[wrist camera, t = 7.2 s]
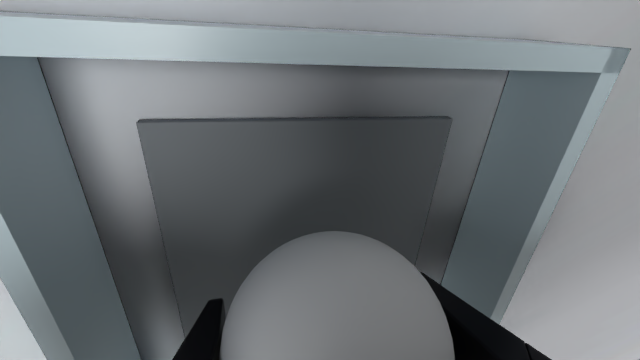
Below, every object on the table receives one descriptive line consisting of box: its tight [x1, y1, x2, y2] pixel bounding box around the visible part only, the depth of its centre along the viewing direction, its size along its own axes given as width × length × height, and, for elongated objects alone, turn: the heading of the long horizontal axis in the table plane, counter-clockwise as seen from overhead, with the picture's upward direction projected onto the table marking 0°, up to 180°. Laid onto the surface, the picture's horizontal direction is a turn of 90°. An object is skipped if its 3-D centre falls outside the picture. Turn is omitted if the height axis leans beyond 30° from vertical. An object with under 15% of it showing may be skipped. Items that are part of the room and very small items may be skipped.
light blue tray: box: [0, 11, 631, 360], centre depth 11 cm, size 15×15×3 cm
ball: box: [219, 231, 455, 360], centre depth 8 cm, size 6×6×6 cm
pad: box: [136, 117, 452, 338], centre depth 12 cm, size 10×10×1 cm
